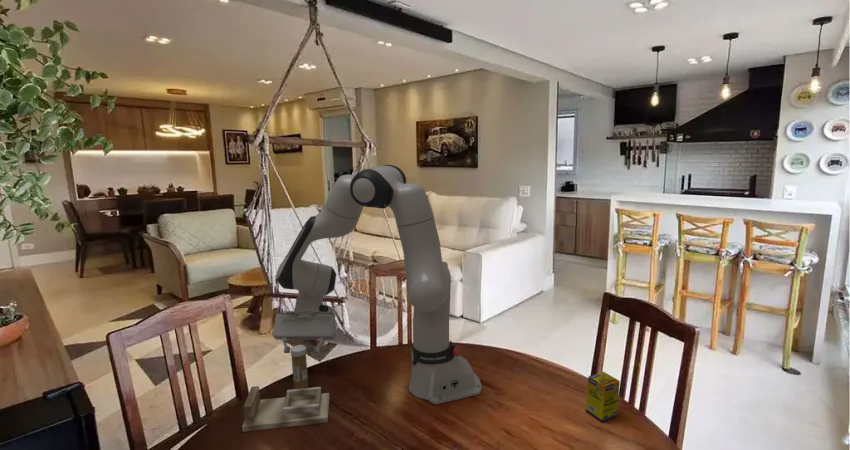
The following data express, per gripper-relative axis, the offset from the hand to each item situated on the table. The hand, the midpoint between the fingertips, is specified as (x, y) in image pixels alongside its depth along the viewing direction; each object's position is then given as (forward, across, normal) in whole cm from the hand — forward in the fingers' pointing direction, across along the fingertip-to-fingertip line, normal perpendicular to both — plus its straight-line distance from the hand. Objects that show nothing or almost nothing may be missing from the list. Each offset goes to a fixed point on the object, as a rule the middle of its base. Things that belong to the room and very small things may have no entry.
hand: (301, 352), depth 138 cm
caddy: (+19, 0, -4) cm, 19 cm away
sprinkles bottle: (+10, 0, +5) cm, 11 cm away
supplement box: (+19, +88, -5) cm, 90 cm away
